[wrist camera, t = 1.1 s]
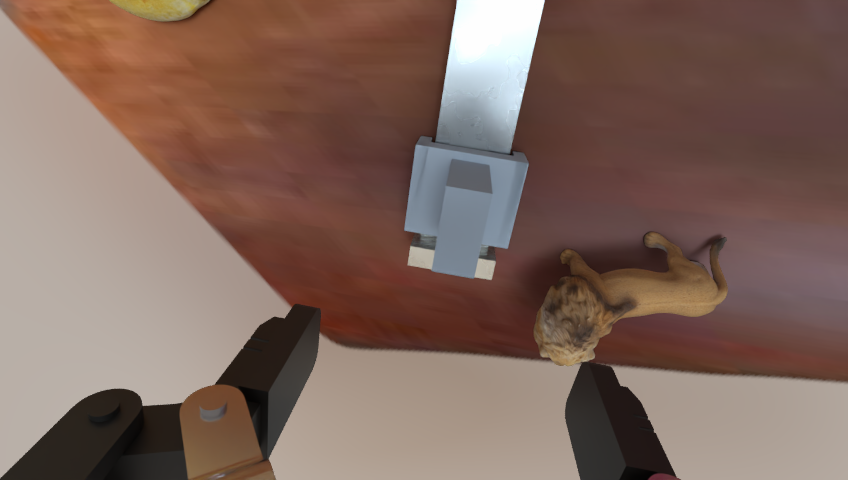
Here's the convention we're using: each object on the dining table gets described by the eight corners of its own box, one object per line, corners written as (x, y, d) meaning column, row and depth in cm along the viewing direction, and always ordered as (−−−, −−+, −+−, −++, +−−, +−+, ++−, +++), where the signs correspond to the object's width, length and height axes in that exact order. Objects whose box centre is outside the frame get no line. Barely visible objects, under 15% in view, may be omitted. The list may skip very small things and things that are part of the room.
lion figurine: (533, 316, 36) (550, 394, 28) (514, 261, 34) (526, 329, 26) (726, 264, 33) (811, 337, 24) (716, 200, 31) (803, 256, 23)
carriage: (523, 153, 30) (542, 192, 22) (504, 231, 32) (514, 294, 24) (421, 135, 30) (401, 168, 22) (410, 215, 33) (388, 271, 25)
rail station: (632, -272, 22) (711, -431, 15) (502, 257, 34) (509, 314, 27) (474, -292, 22) (473, -457, 15) (402, 239, 35) (382, 291, 27)
